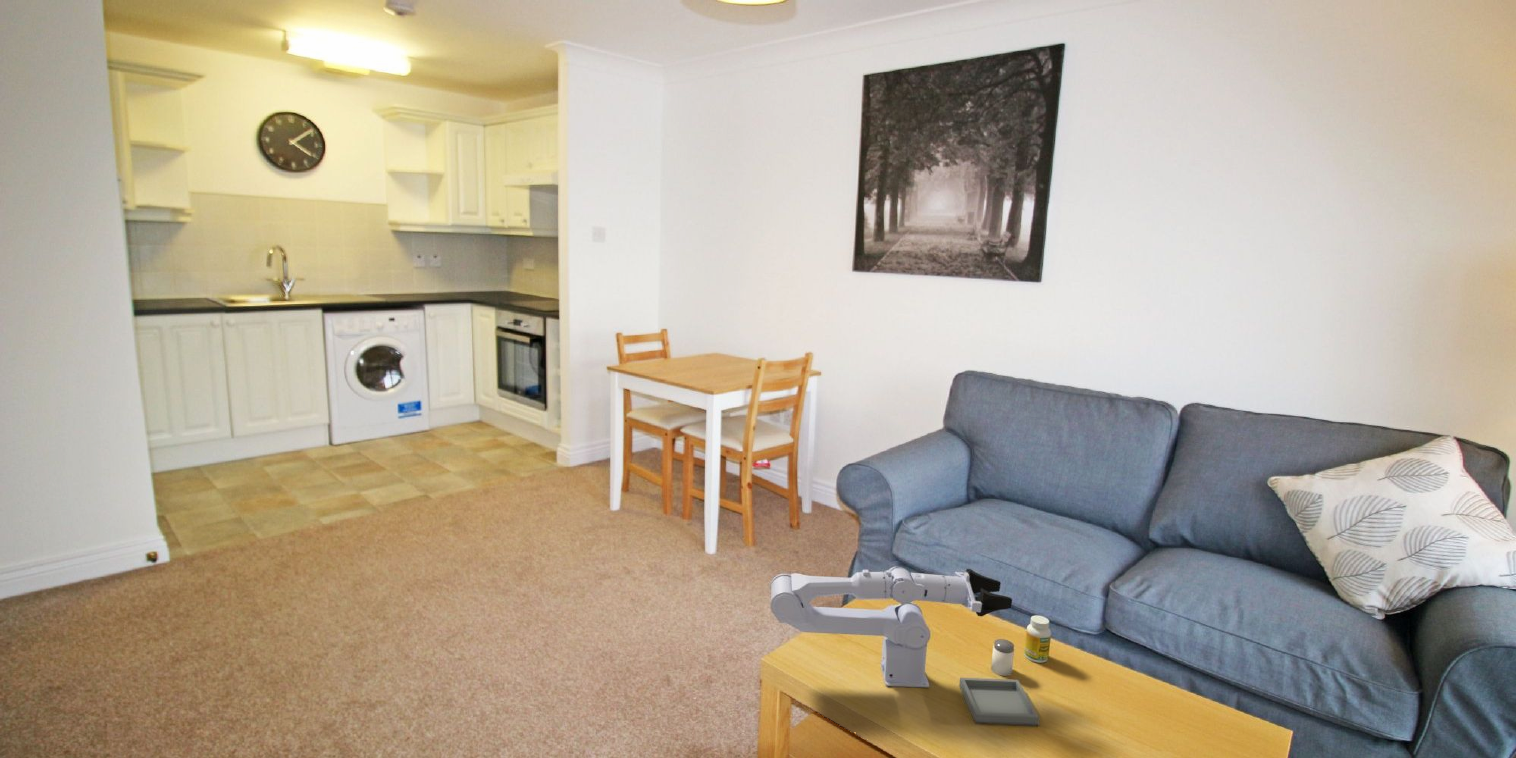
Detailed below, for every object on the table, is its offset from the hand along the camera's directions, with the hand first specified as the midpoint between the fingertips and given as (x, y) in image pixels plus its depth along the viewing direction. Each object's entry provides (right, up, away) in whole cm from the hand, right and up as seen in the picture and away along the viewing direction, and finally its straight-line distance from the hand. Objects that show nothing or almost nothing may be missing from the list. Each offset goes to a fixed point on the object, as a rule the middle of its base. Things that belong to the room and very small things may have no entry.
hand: (1005, 594), depth 156 cm
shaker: (+2, -19, +8) cm, 21 cm away
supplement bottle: (+12, -19, +13) cm, 26 cm away
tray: (-3, -22, -5) cm, 22 cm away
